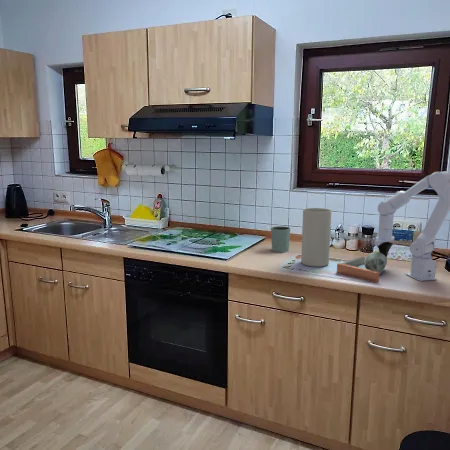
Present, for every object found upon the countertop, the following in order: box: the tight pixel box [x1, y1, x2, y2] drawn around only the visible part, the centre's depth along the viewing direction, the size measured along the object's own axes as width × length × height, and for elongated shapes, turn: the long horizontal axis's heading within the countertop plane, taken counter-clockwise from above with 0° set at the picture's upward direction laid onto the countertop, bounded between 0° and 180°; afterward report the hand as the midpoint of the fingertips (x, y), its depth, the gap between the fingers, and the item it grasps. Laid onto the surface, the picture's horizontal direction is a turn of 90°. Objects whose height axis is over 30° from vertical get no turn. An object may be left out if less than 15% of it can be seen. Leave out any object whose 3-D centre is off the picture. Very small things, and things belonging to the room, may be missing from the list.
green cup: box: [270, 225, 291, 253], centre depth 217 cm, size 10×10×12 cm
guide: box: [336, 256, 380, 284], centre depth 180 cm, size 23×19×4 cm
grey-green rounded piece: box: [364, 251, 388, 275], centre depth 181 cm, size 14×10×10 cm
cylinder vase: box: [300, 207, 332, 268], centre depth 191 cm, size 12×12×25 cm
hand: (383, 258), depth 185 cm, fingers closed
